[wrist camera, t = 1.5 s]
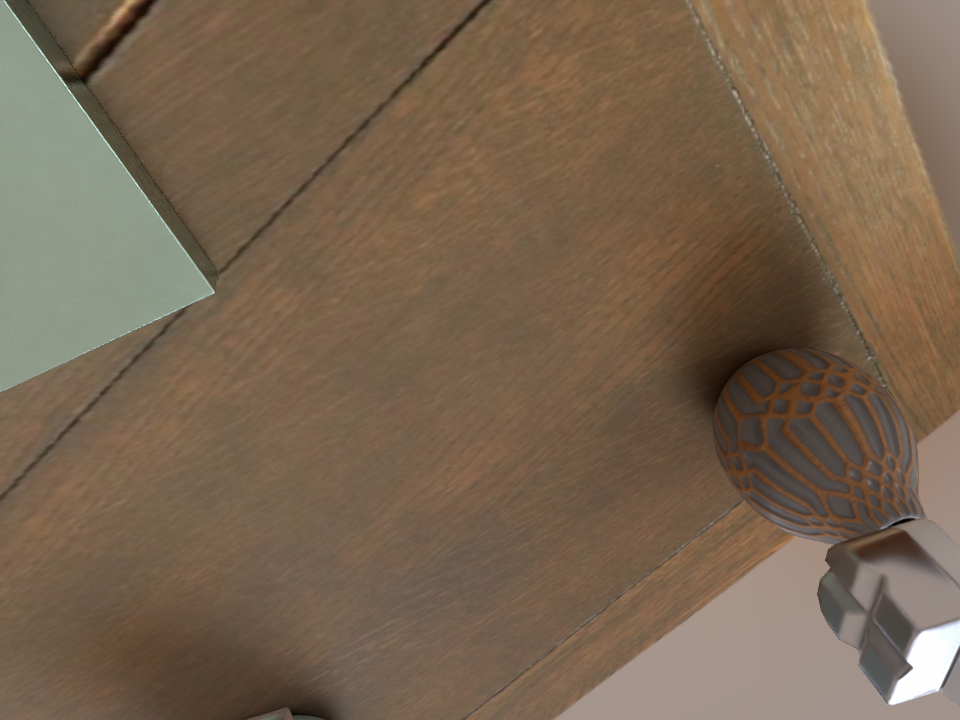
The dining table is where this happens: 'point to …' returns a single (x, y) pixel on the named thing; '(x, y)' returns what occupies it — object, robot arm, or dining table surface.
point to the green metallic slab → (76, 216)
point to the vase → (817, 446)
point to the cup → (306, 717)
